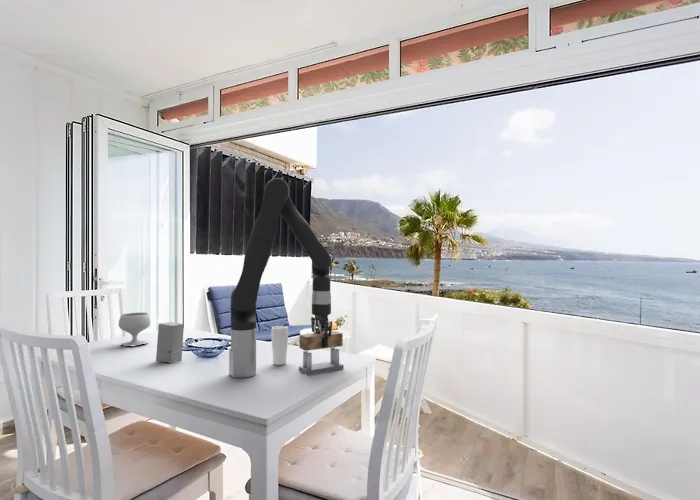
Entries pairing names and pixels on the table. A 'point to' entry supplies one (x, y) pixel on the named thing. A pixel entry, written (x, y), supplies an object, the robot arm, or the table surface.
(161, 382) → the table surface
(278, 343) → the drinking glass
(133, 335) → the chalice
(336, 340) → the brown rectangular block
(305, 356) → the peg stand
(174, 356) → the skincare box
